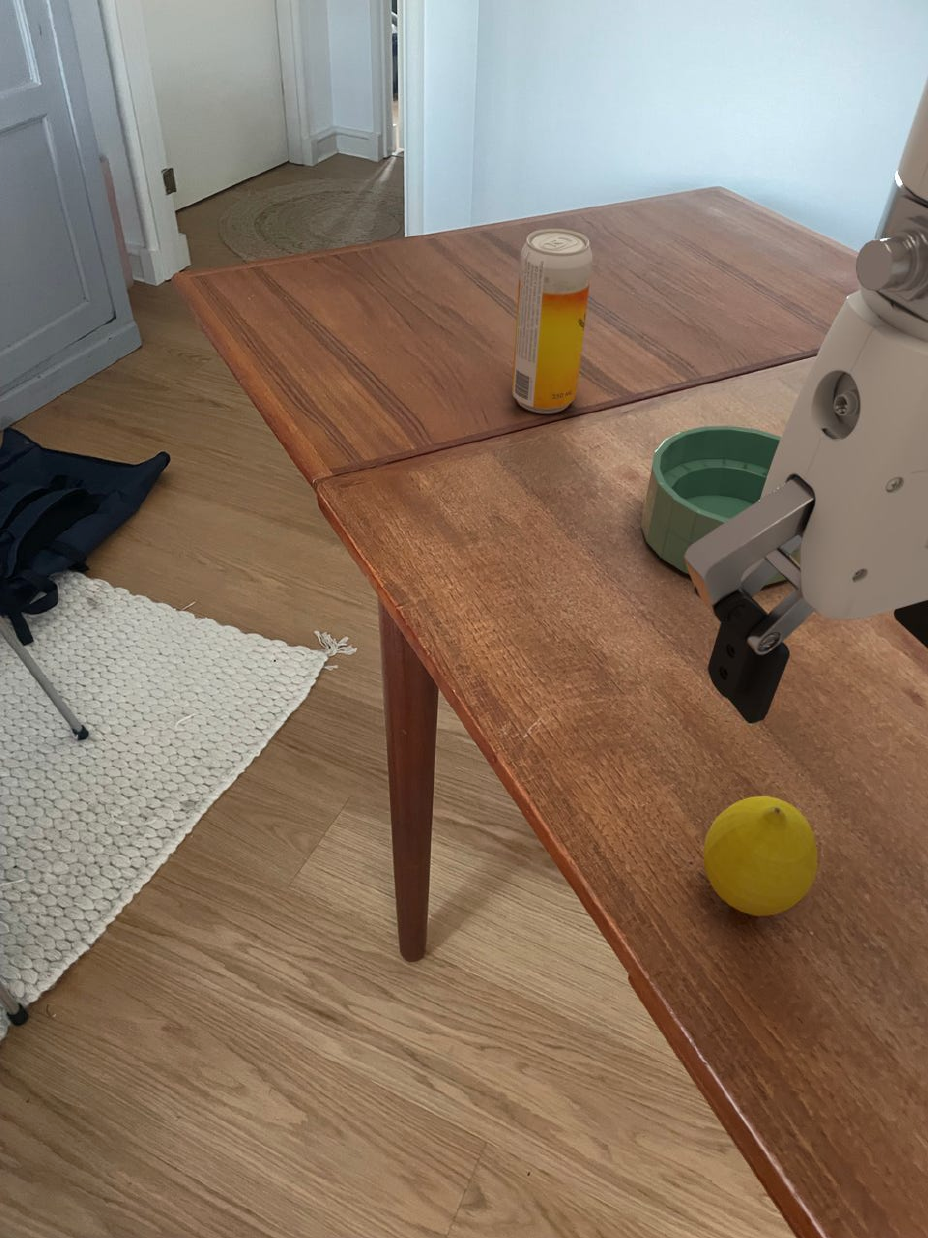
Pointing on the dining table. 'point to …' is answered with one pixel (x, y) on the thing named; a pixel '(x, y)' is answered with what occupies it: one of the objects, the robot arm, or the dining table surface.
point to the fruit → (761, 855)
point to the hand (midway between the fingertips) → (831, 666)
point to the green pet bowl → (704, 486)
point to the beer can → (550, 319)
